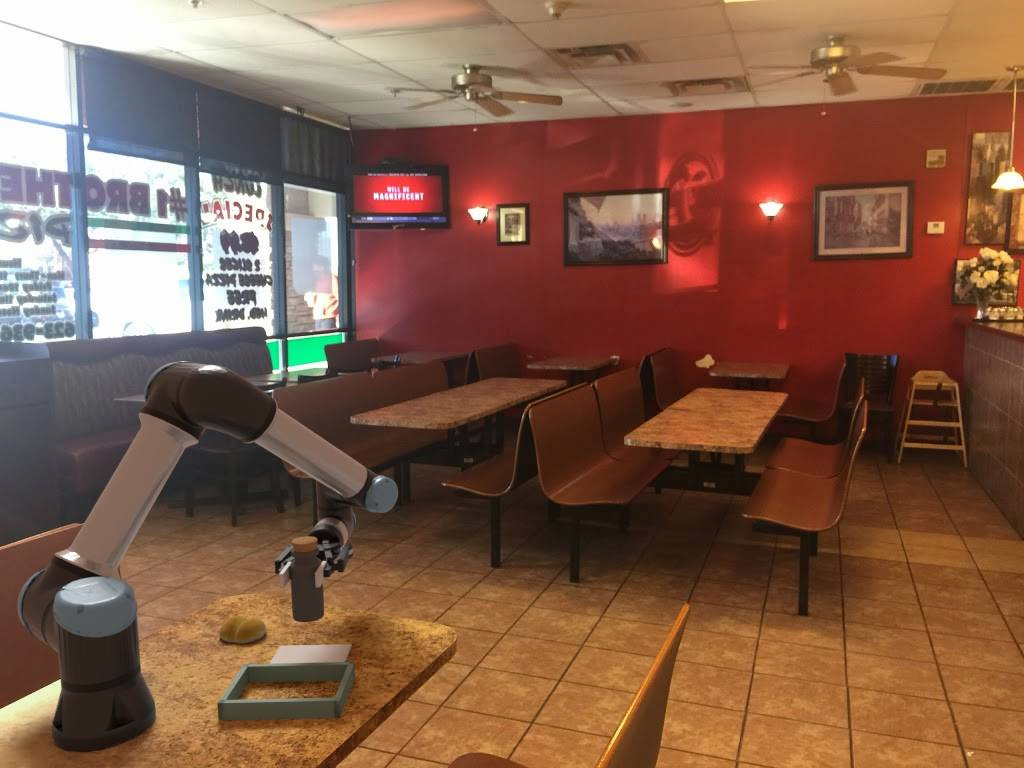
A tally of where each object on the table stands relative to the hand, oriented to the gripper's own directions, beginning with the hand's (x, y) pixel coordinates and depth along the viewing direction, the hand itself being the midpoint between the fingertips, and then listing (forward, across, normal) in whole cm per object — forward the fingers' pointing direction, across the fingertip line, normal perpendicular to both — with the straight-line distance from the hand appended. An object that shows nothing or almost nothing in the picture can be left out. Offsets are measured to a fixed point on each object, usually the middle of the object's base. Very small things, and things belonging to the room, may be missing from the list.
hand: (299, 580), depth 152 cm
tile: (-5, 0, -17) cm, 18 cm away
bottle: (-5, 0, -9) cm, 11 cm away
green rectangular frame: (+10, 0, -17) cm, 20 cm away
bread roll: (-16, +16, -18) cm, 29 cm away
